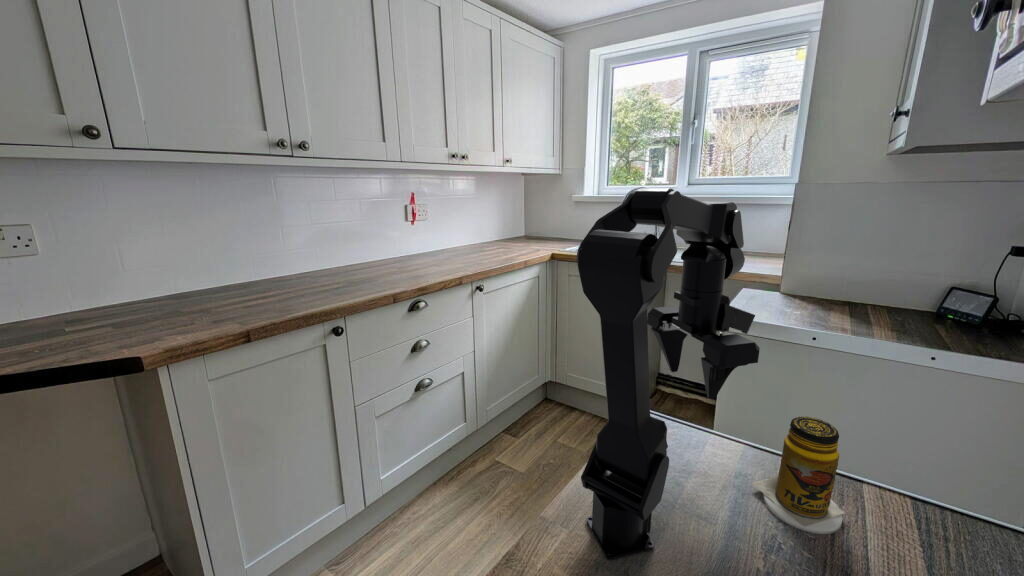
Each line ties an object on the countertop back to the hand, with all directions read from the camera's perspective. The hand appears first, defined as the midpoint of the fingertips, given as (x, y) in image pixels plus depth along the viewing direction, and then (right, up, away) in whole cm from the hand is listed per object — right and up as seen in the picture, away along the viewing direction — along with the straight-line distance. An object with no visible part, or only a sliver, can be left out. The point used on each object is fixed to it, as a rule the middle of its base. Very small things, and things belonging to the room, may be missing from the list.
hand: (691, 383), depth 67 cm
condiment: (+11, -15, -7) cm, 20 cm away
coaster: (+12, -15, -8) cm, 21 cm away
